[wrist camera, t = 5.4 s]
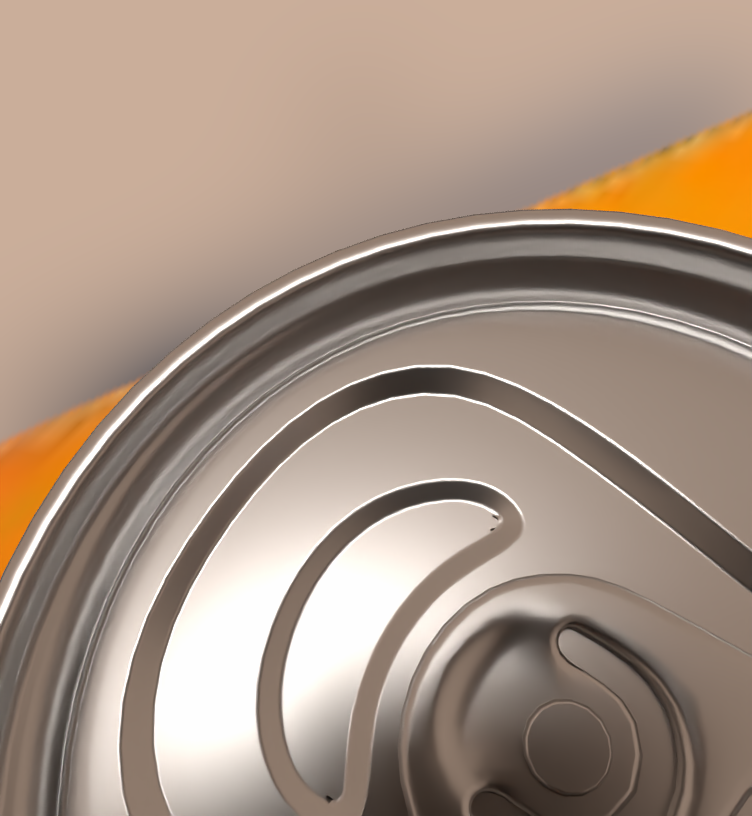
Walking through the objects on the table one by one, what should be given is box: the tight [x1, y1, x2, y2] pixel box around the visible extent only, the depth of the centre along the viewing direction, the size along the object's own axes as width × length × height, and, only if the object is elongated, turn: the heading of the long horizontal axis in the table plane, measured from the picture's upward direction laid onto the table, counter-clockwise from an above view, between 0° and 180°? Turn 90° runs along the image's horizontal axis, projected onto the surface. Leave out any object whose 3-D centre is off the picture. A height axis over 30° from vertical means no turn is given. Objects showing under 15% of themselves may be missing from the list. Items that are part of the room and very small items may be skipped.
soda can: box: [0, 209, 752, 816], centre depth 8 cm, size 7×7×12 cm
